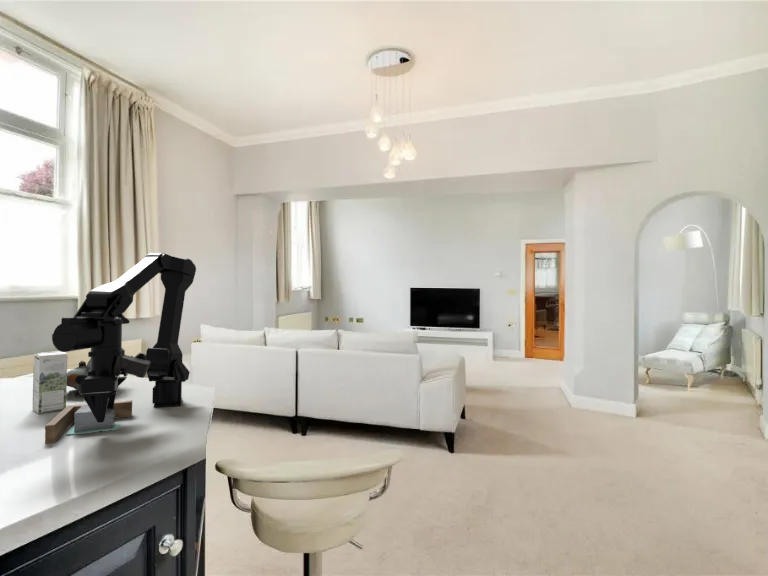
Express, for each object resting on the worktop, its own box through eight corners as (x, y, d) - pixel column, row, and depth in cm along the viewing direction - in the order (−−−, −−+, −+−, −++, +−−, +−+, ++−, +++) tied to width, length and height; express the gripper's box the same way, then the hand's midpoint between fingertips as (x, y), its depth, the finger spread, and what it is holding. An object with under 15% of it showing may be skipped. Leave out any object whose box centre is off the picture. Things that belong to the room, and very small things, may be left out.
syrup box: (60, 405, 110) (61, 350, 110) (66, 409, 106) (67, 352, 106) (32, 410, 106) (33, 352, 106) (38, 414, 102) (39, 354, 102)
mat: (66, 435, 88) (66, 434, 88) (77, 423, 96) (77, 422, 96) (116, 430, 92) (116, 429, 92) (122, 418, 100) (122, 418, 100)
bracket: (74, 432, 90) (74, 413, 90) (82, 422, 96) (82, 405, 96) (112, 428, 92) (112, 410, 92) (118, 419, 98) (118, 402, 98)
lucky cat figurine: (75, 387, 130) (102, 345, 134) (112, 402, 130) (137, 360, 135) (47, 383, 116) (78, 337, 120) (88, 400, 116) (118, 354, 121)
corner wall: (132, 414, 103) (132, 400, 103) (121, 435, 89) (121, 418, 89) (67, 420, 98) (67, 405, 98) (45, 443, 84) (45, 425, 84)
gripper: (142, 349, 88) (141, 424, 88) (152, 339, 105) (151, 401, 105) (78, 352, 83) (77, 431, 83) (99, 341, 100) (98, 406, 100)
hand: (105, 416), depth 93 cm, fingers open, 9 cm apart
